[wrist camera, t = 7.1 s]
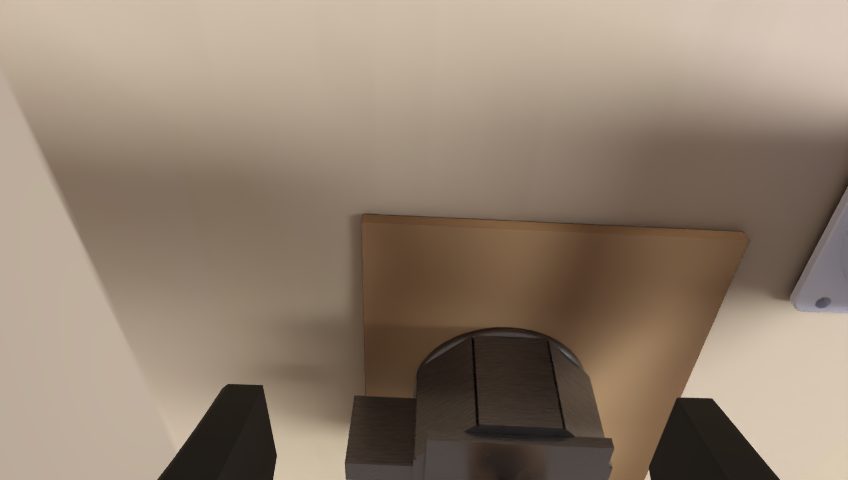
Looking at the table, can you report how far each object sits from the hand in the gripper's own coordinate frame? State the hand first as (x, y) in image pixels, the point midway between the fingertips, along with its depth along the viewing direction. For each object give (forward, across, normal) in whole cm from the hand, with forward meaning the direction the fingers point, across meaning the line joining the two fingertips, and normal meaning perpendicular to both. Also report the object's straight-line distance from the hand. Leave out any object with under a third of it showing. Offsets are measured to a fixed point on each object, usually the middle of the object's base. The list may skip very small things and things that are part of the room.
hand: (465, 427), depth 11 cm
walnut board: (+10, -3, +12) cm, 16 cm away
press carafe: (+10, -1, +11) cm, 15 cm away
